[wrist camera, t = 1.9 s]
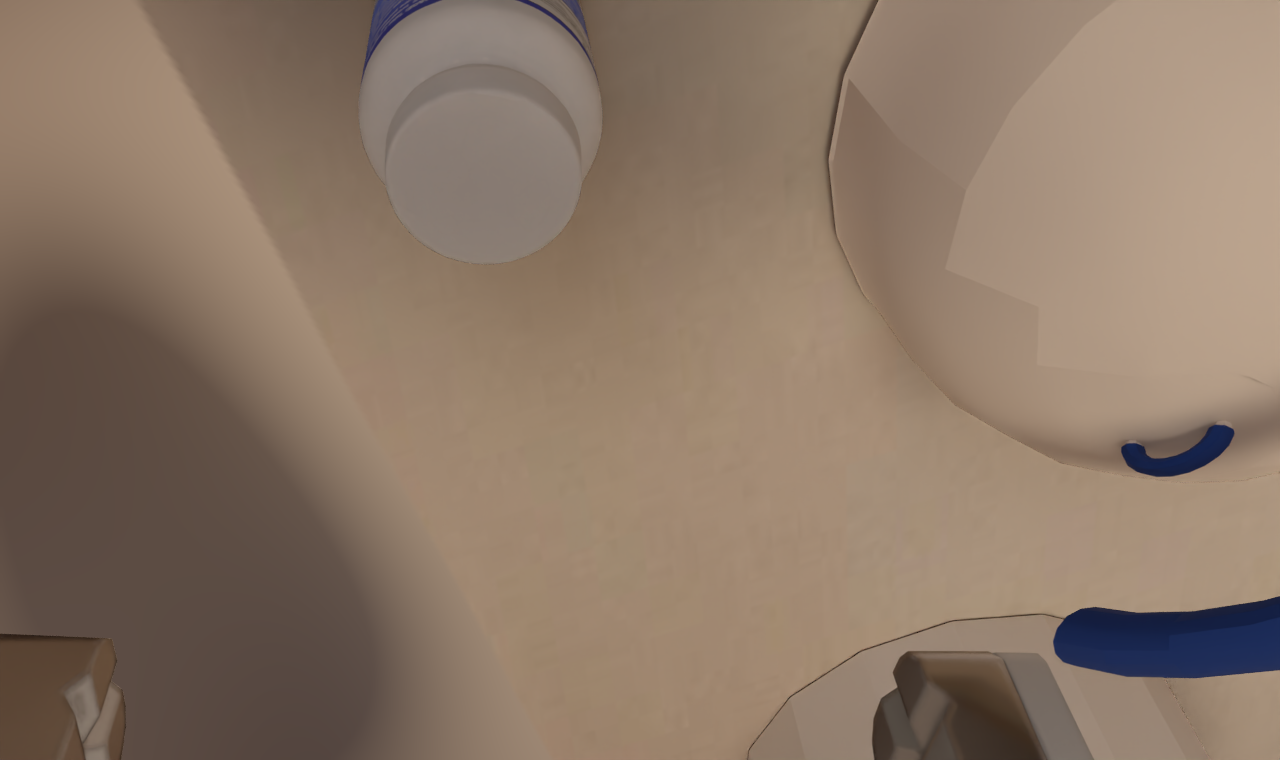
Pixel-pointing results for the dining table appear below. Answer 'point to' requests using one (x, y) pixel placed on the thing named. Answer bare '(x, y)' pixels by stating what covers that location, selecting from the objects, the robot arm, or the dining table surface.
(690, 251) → the dining table surface
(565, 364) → the dining table surface
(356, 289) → the dining table surface
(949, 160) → the kettle
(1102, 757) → the container
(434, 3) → the pill bottle
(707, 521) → the dining table surface
